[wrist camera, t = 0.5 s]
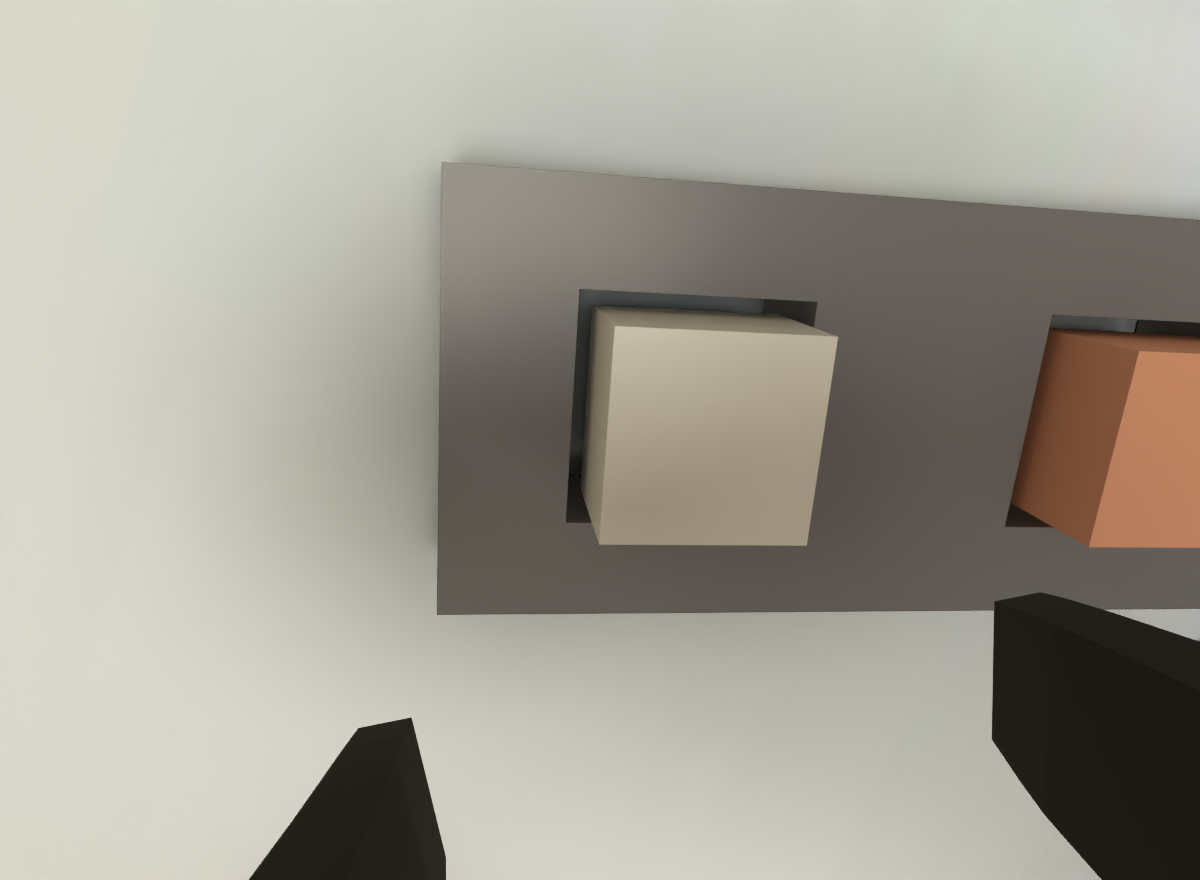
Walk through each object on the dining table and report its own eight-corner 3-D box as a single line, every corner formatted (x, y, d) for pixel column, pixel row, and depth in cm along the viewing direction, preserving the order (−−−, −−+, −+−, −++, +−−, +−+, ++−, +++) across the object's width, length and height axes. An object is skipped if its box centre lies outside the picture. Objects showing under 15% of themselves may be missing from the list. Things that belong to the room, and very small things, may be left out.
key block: (1254, 229, 20) (1382, 234, 17) (1160, 556, 22) (1258, 608, 20) (449, 169, 17) (441, 162, 14) (443, 554, 19) (437, 614, 17)
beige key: (778, 314, 17) (838, 336, 14) (755, 491, 18) (806, 545, 15) (592, 304, 16) (614, 326, 13) (580, 488, 17) (599, 545, 14)
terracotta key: (1189, 335, 18) (1320, 359, 15) (1145, 497, 19) (1259, 547, 17) (1033, 327, 18) (1139, 351, 15) (997, 495, 19) (1089, 547, 16)
